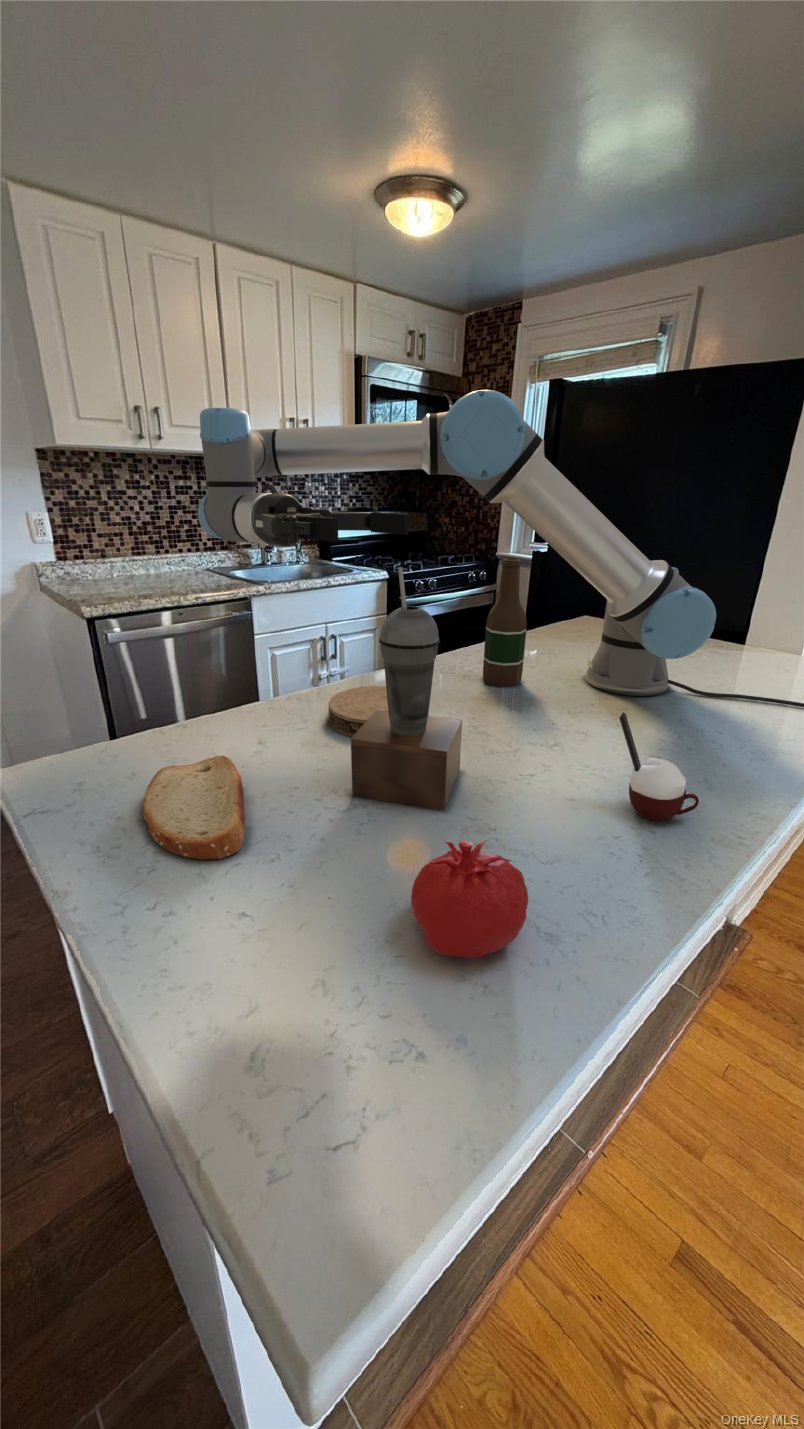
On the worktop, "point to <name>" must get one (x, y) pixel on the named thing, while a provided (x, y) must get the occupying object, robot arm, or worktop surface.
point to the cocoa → (655, 784)
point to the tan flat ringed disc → (356, 707)
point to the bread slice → (197, 809)
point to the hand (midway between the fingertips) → (373, 526)
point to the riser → (406, 762)
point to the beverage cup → (408, 665)
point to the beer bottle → (505, 631)
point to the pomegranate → (469, 902)
